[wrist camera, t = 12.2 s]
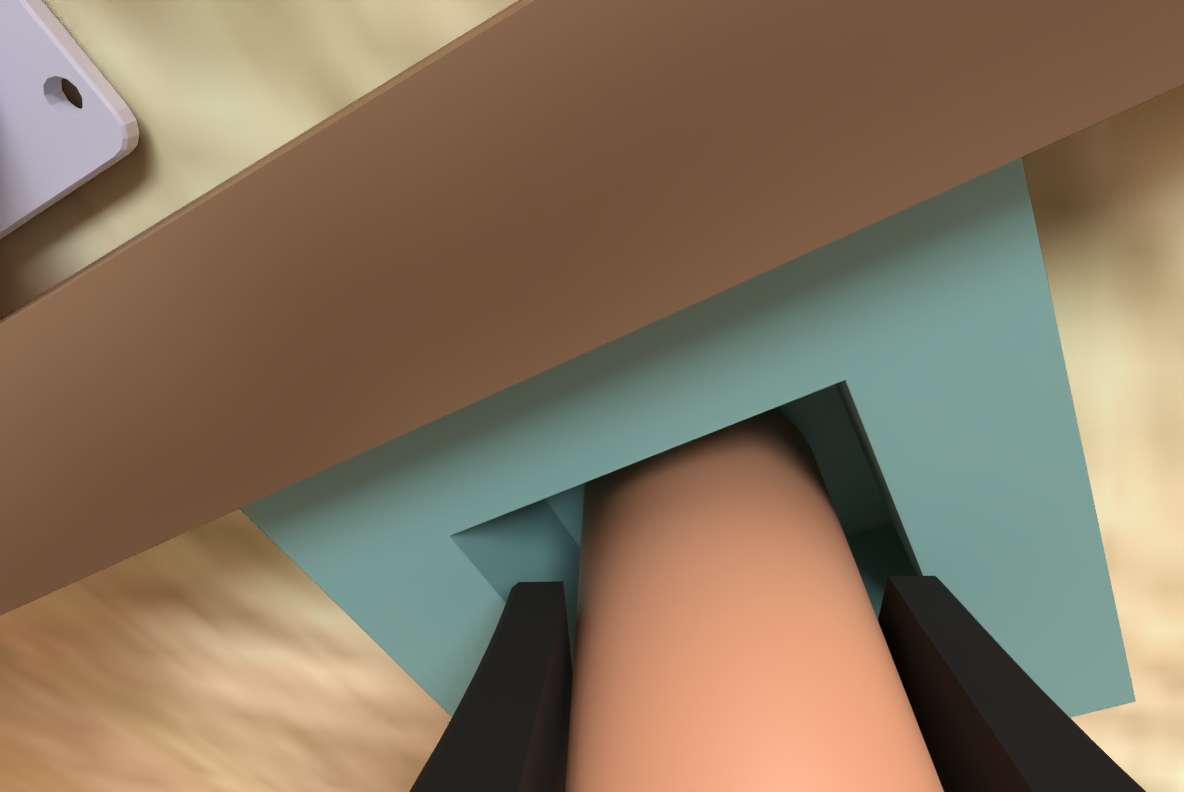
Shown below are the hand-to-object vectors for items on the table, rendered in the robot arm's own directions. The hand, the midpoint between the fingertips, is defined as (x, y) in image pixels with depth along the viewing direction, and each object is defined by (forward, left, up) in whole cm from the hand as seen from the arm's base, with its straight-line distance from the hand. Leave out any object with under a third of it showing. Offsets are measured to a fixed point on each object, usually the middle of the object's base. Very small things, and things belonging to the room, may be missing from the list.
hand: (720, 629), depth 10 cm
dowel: (0, 0, -3) cm, 3 cm away
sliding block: (0, 0, -4) cm, 4 cm away
